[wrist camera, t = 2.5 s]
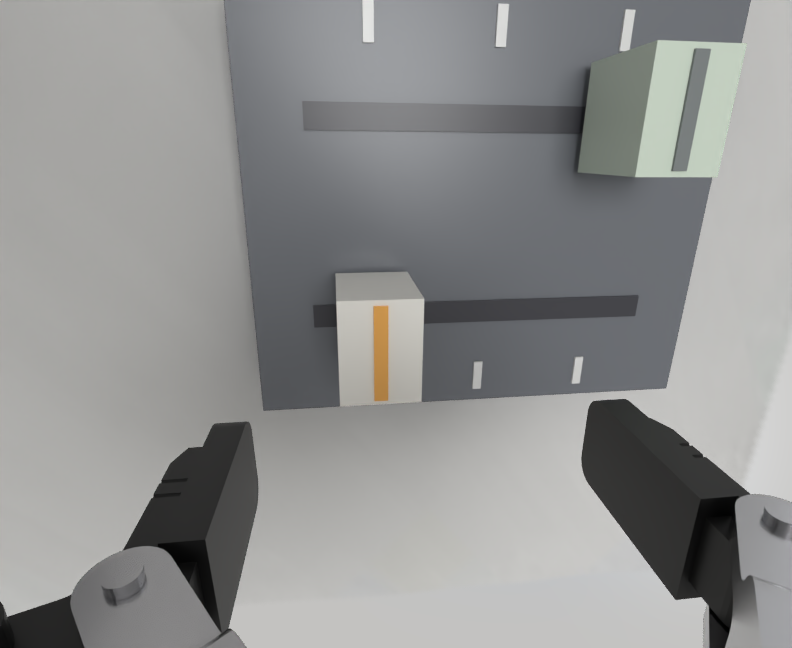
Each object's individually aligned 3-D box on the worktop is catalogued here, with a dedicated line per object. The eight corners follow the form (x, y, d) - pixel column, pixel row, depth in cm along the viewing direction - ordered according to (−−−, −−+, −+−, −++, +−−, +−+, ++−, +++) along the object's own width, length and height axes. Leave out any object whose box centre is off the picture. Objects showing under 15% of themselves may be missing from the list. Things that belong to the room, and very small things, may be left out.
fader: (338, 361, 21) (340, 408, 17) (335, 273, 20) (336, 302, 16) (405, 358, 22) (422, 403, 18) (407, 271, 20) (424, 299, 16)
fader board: (271, 381, 25) (263, 411, 22) (237, -3, 19) (220, -31, 16) (631, 364, 27) (667, 389, 24) (697, 17, 22) (753, -3, 19)
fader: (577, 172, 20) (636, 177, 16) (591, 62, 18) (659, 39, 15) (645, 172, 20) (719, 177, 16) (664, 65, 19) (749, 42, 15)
